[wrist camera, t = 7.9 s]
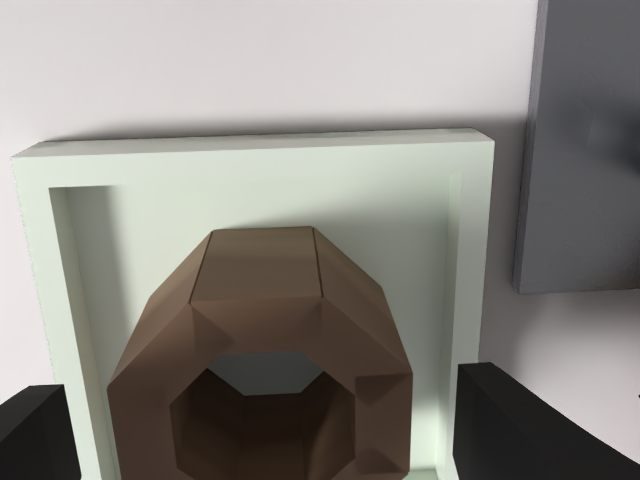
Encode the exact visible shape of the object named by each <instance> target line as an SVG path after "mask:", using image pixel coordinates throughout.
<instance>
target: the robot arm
mask: <svg viewBox="0 0 640 480" xmlns="http://www.w3.org/2000/svg"><path fill="white" fill-rule="evenodd" d="M452 455H453V459H454V463H455V466H456V470H457V474H458V478H459V480H640V464H638V463H636V462H635V461H633V460H631V459H629V458H628V457H626V456H624V455H623V454H621V453H620V452H618V451H617V450H615V449H613V448H612V447H610V446H609V445H607V444H606V443H604V442H602V441H601V440H599V439H598V438H596V437H594V436H593V435H591V434H590V433H589V432H587V431H586V430H584V429H583V428H581V427H580V426H578V425H577V424H575V423H574V422H572V421H571V420H569V419H568V418H567V417H565V416H564V415H562V414H561V413H560V412H558V411H557V410H555V409H554V408H553V407H551V406H550V405H548V404H547V403H546V402H544V401H543V400H542V399H540V398H539V397H538V396H536V395H535V394H534V393H532V392H531V391H530V390H528V389H527V388H526V387H524V386H523V385H522V384H520V383H519V382H518V381H516V380H515V379H513V378H512V377H511V376H509V375H508V374H507V373H505V372H504V371H503V370H501V369H500V368H498V367H497V366H495V365H494V364H492V363H491V362H485V363H465V364H458V372H457V388H456V404H455V420H454V435H453V451H452ZM81 477H82V474H81V469H80V464H79V459H78V454H77V448H76V443H75V438H74V433H73V428H72V423H71V418H70V413H69V408H68V403H67V398H66V392H65V387H64V384H56V385H36V386H29V387H27V388H25V389H24V390H22V391H20V392H19V393H17V394H16V395H14V396H13V397H11V398H10V399H8V400H7V401H5V402H4V403H3V404H1V405H0V480H81Z"/></svg>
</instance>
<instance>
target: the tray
mask: <svg viewBox="0 0 640 480" xmlns="http://www.w3.org/2000/svg"><path fill="white" fill-rule="evenodd" d="M494 146H495V141H494V140H492V139H491V138H489V137H487V136H486V135H484V134H482V133H481V132H479V131H477V130H475V129H474V128H447V129H418V130H388V131H358V132H328V133H298V134H268V135H238V136H208V137H179V138H149V139H119V140H89V141H59V142H39V143H37V144H35V145H33V146H31V147H29V148H28V149H26V150H24V151H22V152H20V153H18V154H16V155H14V156H12V157H10V161H11V166H12V171H13V176H14V181H15V186H16V191H17V196H18V201H19V206H20V211H21V216H22V221H23V226H24V231H25V236H26V241H27V246H28V250H29V255H30V260H31V265H32V270H33V275H34V280H35V285H36V290H37V295H38V300H39V305H40V310H41V315H42V320H43V325H44V330H45V335H46V340H47V345H48V350H49V355H50V360H51V364H52V369H53V374H54V379H55V384H64V387H65V392H66V398H67V403H68V408H69V413H70V418H71V423H72V428H73V433H74V438H75V443H76V448H77V454H78V459H79V464H80V469H81V474H82V477H81V480H121V474H120V468H119V462H118V456H117V450H116V444H115V438H114V432H113V426H112V420H111V414H110V408H109V402H108V396H107V390H106V389H107V386H108V384H109V382H110V379H111V377H112V375H113V373H114V371H115V369H116V367H117V365H118V363H119V360H120V358H121V356H122V354H123V352H124V350H125V348H126V346H127V343H128V341H129V339H130V337H131V335H132V333H133V331H134V329H135V327H136V324H137V322H138V320H139V318H140V316H141V314H142V312H143V310H144V308H145V305H146V303H147V301H148V299H149V297H150V296H151V295H152V294H153V293H154V291H155V290H156V289H157V288H158V287H159V286H160V285H161V284H162V283H163V282H164V281H165V280H166V279H167V278H168V277H169V276H170V274H171V273H172V272H173V271H174V270H175V269H176V268H177V267H178V266H179V265H180V264H181V263H182V262H183V261H184V260H185V258H186V257H187V256H188V255H189V254H190V253H191V252H192V251H193V250H194V249H195V248H196V247H197V246H198V245H199V244H200V243H201V241H202V240H203V239H204V238H205V237H206V236H207V235H208V234H209V233H210V232H211V231H213V230H221V229H247V228H272V227H298V226H312V228H313V227H315V228H316V229H317V230H318V231H319V232H320V233H322V234H323V235H324V236H325V237H326V238H327V239H328V240H329V241H331V242H332V243H333V244H334V245H335V246H336V247H337V248H338V249H340V250H341V251H342V252H343V253H344V254H345V255H346V256H348V257H349V258H350V259H351V260H352V261H353V262H354V263H355V264H357V265H358V266H359V267H360V268H361V269H362V270H363V271H364V272H366V273H367V274H368V275H369V276H370V277H371V278H372V279H373V280H375V281H376V282H377V283H378V284H379V285H380V286H381V287H382V289H383V292H384V295H385V297H386V300H387V303H388V306H389V308H390V311H391V314H392V317H393V319H394V322H395V325H396V328H397V330H398V333H399V336H400V339H401V341H402V344H403V347H404V350H405V352H406V355H407V358H408V361H409V363H410V366H411V369H412V372H413V394H412V421H411V449H410V472H408V475H407V476H406V477H405V478H403V479H402V480H459V478H458V474H457V470H456V466H455V463H454V459H453V455H452V451H453V435H454V420H455V404H456V388H457V372H458V364H465V363H478V355H479V342H480V329H481V316H482V303H483V290H484V277H485V264H486V250H487V237H488V224H489V211H490V198H491V185H492V172H493V159H494ZM207 368H208V369H209V370H211V371H212V372H213V373H215V374H216V375H217V376H219V377H220V378H222V379H223V380H224V381H226V382H227V383H228V384H230V385H231V386H232V387H234V388H235V389H236V390H238V391H239V392H240V393H242V394H243V395H244V396H248V395H267V394H287V393H301V392H302V391H303V390H304V389H305V388H306V387H307V386H308V385H309V384H310V383H311V382H312V381H313V380H314V379H315V378H317V377H318V376H319V375H320V374H321V373H322V372H323V371H324V370H323V369H321V368H320V367H319V366H318V365H316V364H315V363H314V362H313V361H311V360H310V359H309V358H308V357H306V356H305V355H304V354H303V353H301V352H300V351H288V352H268V353H247V354H226V355H219V356H218V357H217V358H216V359H215V360H214V361H213V362H212V363H211V364H210V365H209V366H208V367H207Z"/></svg>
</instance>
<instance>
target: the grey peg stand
mask: <svg viewBox="0 0 640 480" xmlns="http://www.w3.org/2000/svg"><path fill="white" fill-rule="evenodd" d="M512 286H513V287H514V288H515V289H516V291H517V292H518V293H519V294H533V293H555V292H576V291H598V290H620V289H640V0H539V1H538V11H537V22H536V33H535V43H534V54H533V65H532V75H531V86H530V97H529V107H528V118H527V129H526V139H525V150H524V161H523V171H522V182H521V193H520V203H519V214H518V225H517V236H516V246H515V257H514V268H513V278H512Z"/></svg>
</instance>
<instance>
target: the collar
mask: <svg viewBox="0 0 640 480" xmlns="http://www.w3.org/2000/svg"><path fill="white" fill-rule="evenodd" d="M288 351H300V352H301V353H303V354H304V355H305V356H306V357H308V358H309V359H310V360H311V361H313V362H314V363H315V364H316V365H318V366H319V367H320V368H321V369H323V370H324V371H323V372H322V373H321V374H320V375H319V376H318V377H317V378H315V379H314V380H313V381H312V382H311V383H310V384H309V385H308V386H307V387H306V388H305V389H304V390H303V391H302V392H301V393H287V394H267V395H248V396H244V395H243V394H242V393H240V392H239V391H238V390H236V389H235V388H234V387H232V386H231V385H230V384H228V383H227V382H226V381H224V380H223V379H222V378H220V377H219V376H217V375H216V374H215V373H213V372H212V371H211V370H209V369H208V368H207V367H208V366H209V365H210V364H211V363H212V362H213V361H214V360H215V359H216V358H217V357H218V356H219V355H226V354H247V353H268V352H288ZM106 390H107V396H108V402H109V408H110V414H111V420H112V426H113V432H114V438H115V444H116V450H117V456H118V462H119V468H120V474H121V480H402V479H403V478H405V477H406V476H407V475H408V472H410V449H411V421H412V394H413V372H412V369H411V366H410V363H409V361H408V358H407V355H406V352H405V350H404V347H403V344H402V341H401V339H400V336H399V333H398V330H397V328H396V325H395V322H394V319H393V317H392V314H391V311H390V308H389V306H388V303H387V300H386V297H385V295H384V292H383V289H382V287H381V286H380V285H379V284H378V283H377V282H376V281H375V280H373V279H372V278H371V277H370V276H369V275H368V274H367V273H366V272H364V271H363V270H362V269H361V268H360V267H359V266H358V265H357V264H355V263H354V262H353V261H352V260H351V259H350V258H349V257H348V256H346V255H345V254H344V253H343V252H342V251H341V250H340V249H338V248H337V247H336V246H335V245H334V244H333V243H332V242H331V241H329V240H328V239H327V238H326V237H325V236H324V235H323V234H322V233H320V232H319V231H318V230H317V229H316V228H315V227H313V228H312V226H298V227H272V228H247V229H221V230H213V231H211V232H210V233H209V234H208V235H207V236H206V237H205V238H204V239H203V240H202V241H201V243H200V244H199V245H198V246H197V247H196V248H195V249H194V250H193V251H192V252H191V253H190V254H189V255H188V256H187V257H186V258H185V260H184V261H183V262H182V263H181V264H180V265H179V266H178V267H177V268H176V269H175V270H174V271H173V272H172V273H171V274H170V276H169V277H168V278H167V279H166V280H165V281H164V282H163V283H162V284H161V285H160V286H159V287H158V288H157V289H156V290H155V291H154V293H153V294H152V295H151V296H150V297H149V299H148V301H147V303H146V305H145V308H144V310H143V312H142V314H141V316H140V318H139V320H138V322H137V324H136V327H135V329H134V331H133V333H132V335H131V337H130V339H129V341H128V343H127V346H126V348H125V350H124V352H123V354H122V356H121V358H120V360H119V363H118V365H117V367H116V369H115V371H114V373H113V375H112V377H111V379H110V382H109V384H108V386H107V389H106Z"/></svg>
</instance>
